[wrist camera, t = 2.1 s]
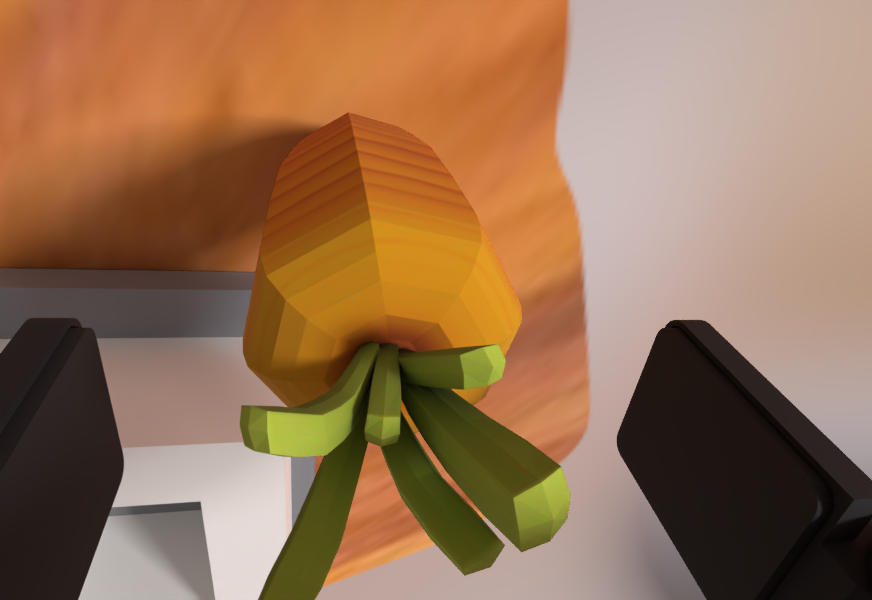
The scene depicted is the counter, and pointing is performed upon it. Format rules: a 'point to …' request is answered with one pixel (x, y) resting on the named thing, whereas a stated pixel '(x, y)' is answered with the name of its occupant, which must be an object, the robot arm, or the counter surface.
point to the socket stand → (174, 430)
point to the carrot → (387, 352)
